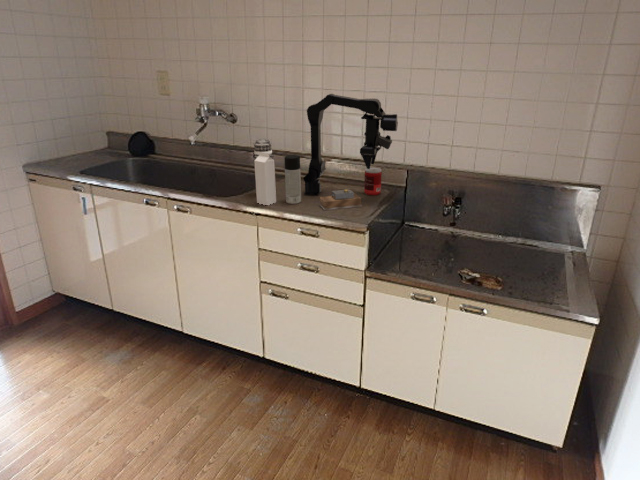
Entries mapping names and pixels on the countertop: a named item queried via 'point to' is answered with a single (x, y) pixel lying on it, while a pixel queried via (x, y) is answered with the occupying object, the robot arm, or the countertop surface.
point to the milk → (265, 179)
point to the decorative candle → (262, 148)
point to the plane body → (339, 202)
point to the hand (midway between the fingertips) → (370, 166)
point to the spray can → (292, 179)
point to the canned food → (372, 181)
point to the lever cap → (342, 194)
